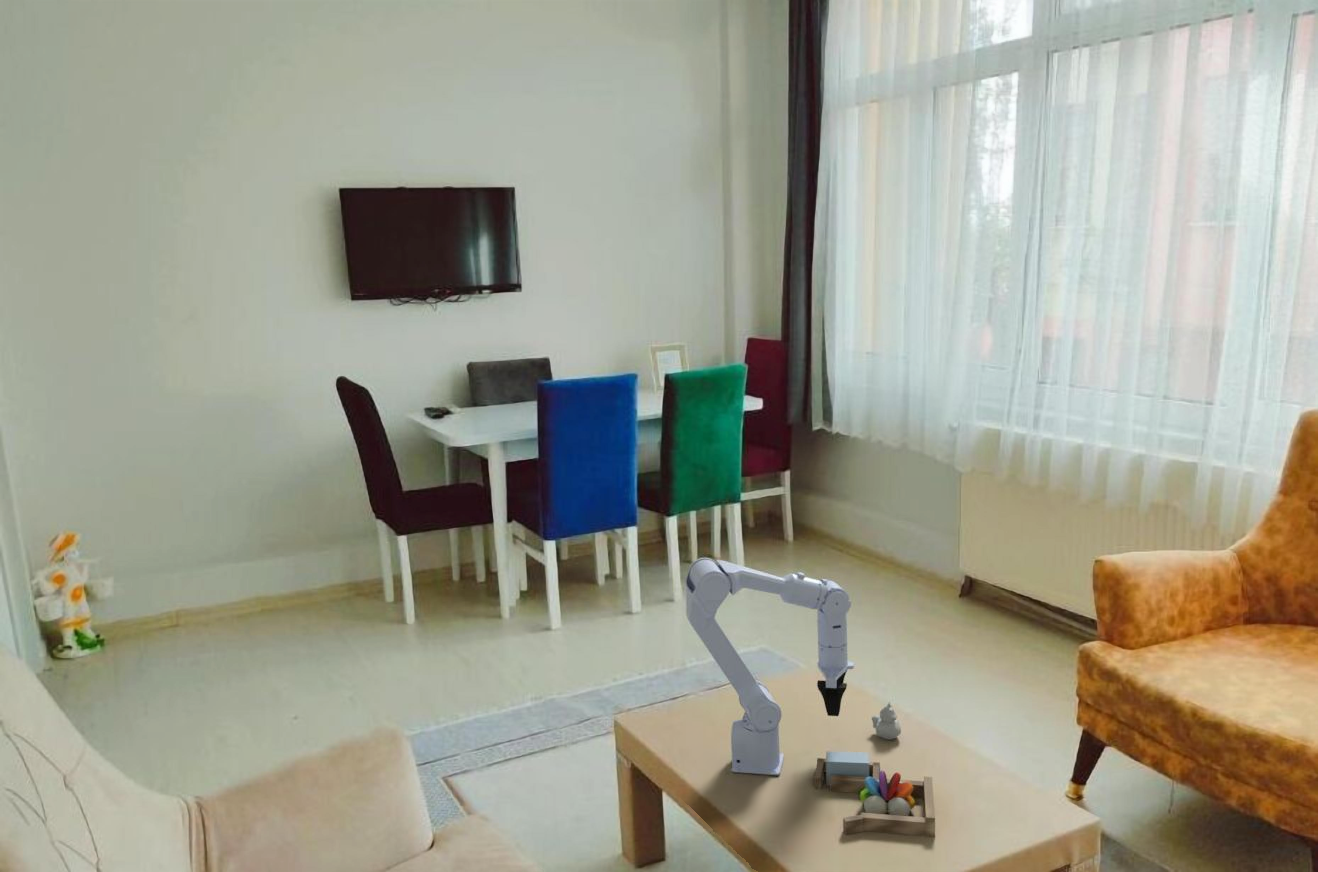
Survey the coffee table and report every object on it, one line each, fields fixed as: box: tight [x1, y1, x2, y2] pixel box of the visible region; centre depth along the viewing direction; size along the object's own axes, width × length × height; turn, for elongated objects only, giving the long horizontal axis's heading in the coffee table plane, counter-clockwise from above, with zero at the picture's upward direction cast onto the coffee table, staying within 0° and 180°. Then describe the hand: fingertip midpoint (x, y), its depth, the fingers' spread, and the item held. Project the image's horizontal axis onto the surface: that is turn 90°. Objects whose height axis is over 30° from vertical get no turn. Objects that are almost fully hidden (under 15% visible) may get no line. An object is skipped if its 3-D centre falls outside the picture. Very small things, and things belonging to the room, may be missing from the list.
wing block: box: [825, 750, 870, 786], centre depth 185 cm, size 8×4×5 cm, turn 80°
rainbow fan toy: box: [859, 770, 916, 816], centre depth 174 cm, size 8×10×7 cm
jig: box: [814, 757, 936, 838], centre depth 177 cm, size 22×22×4 cm
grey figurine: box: [871, 702, 902, 740], centre depth 200 cm, size 5×7×8 cm
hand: (834, 706), depth 193 cm, fingers open, 7 cm apart
